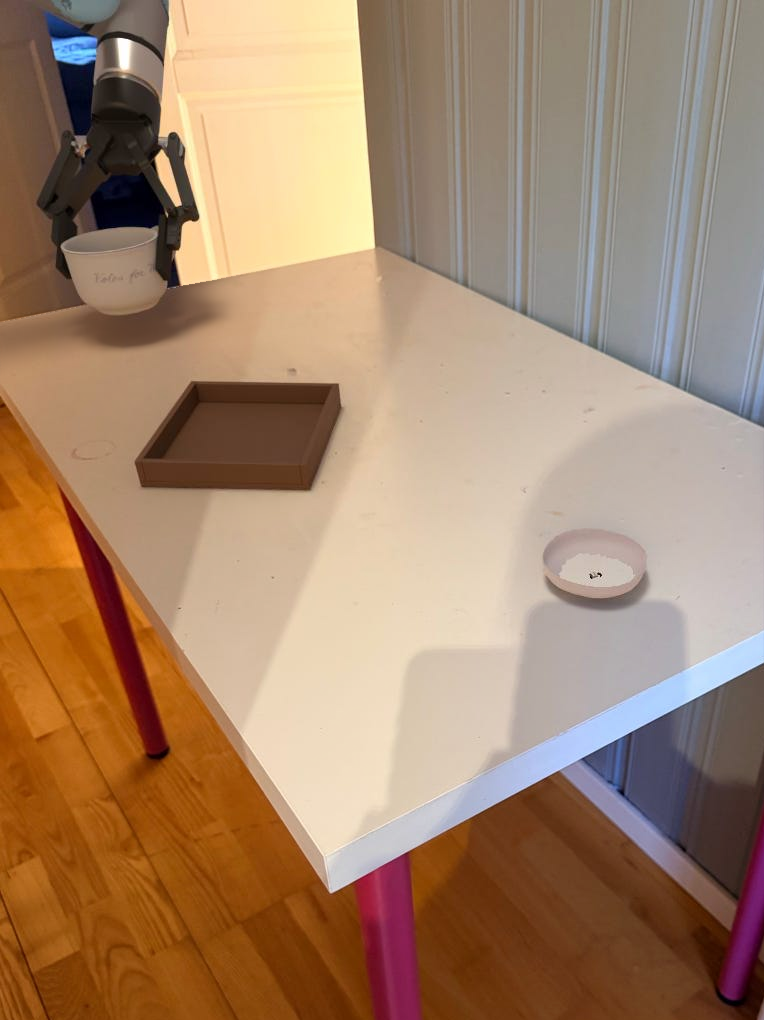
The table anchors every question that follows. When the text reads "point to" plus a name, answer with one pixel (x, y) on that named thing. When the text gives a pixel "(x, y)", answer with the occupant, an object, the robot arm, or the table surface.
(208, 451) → the tray
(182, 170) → the robot arm
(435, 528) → the table surface
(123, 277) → the teacup
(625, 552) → the shallow pink dish
